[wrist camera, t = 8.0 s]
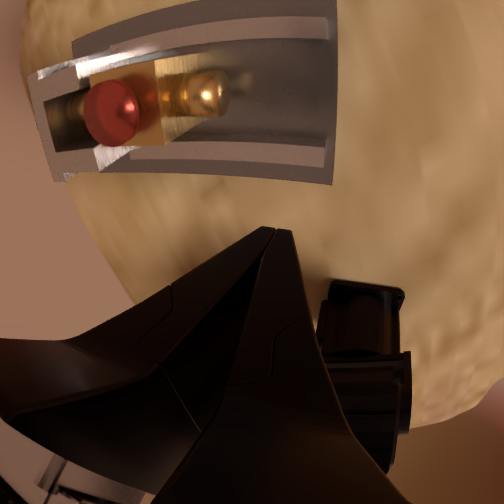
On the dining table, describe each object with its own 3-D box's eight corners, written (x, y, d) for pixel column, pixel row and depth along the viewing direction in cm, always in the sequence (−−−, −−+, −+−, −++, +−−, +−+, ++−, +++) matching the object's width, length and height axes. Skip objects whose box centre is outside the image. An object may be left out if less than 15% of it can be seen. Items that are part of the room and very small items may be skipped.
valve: (234, 50, 14) (184, 57, 10) (237, 122, 17) (193, 157, 13) (95, 71, 17) (33, 93, 13) (104, 126, 20) (48, 158, 16)
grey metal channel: (336, -5, 11) (330, -30, 7) (332, 178, 19) (324, 229, 15) (65, 46, 17) (8, 63, 12) (91, 168, 24) (46, 201, 20)
